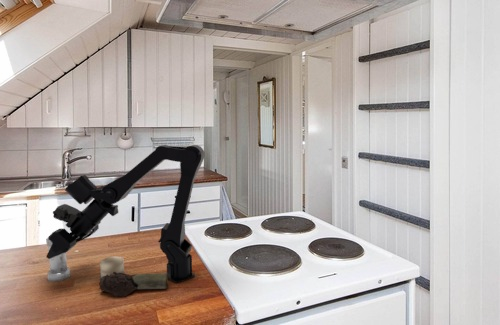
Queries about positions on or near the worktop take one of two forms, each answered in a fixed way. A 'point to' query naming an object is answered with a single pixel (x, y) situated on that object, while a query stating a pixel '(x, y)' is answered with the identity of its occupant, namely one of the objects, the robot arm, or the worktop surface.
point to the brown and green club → (132, 282)
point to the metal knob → (57, 266)
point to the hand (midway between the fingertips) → (56, 251)
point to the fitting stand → (111, 265)
